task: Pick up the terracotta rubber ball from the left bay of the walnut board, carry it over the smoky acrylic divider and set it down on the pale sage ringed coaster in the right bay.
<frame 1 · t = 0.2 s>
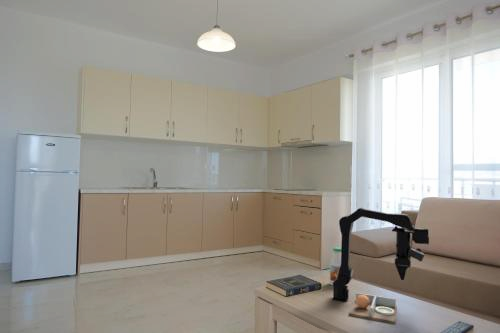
hand: (402, 277, 152), 14 cm above the table, fingers open, 9 cm apart
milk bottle: (336, 285, 186), on the table
board: (373, 312, 148), on the table
ball: (362, 301, 150), point 4 cm above the table, touching board
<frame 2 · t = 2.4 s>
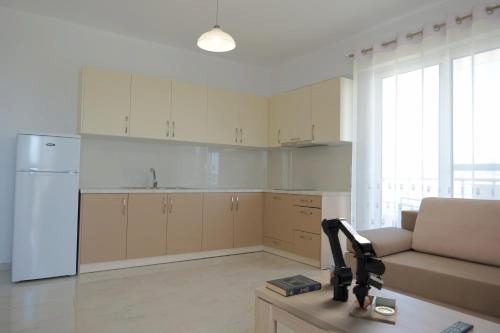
hand: (362, 305, 150), 2 cm above the table, fingers closed on ball, 5 cm apart
ball: (362, 301, 150), point 4 cm above the table, touching board, gripper
everything else where it was.
when the fingers open (4 cm above the table, at t = 7.1 s): ball drops 1 cm, resting on board.
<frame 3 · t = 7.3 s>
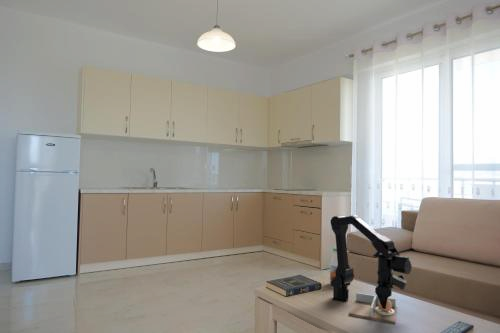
hand: (384, 305, 146), 4 cm above the table, fingers open, 8 cm apart
ball: (384, 304, 146), point 4 cm above the table, touching board
everything else where it was.
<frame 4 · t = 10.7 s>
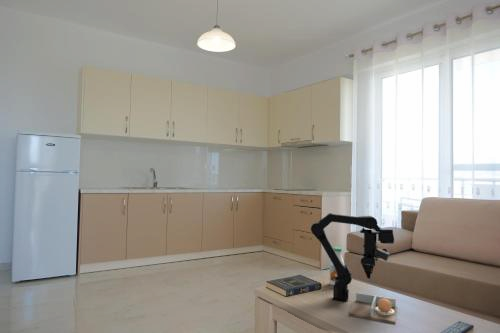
hand: (369, 275, 161), 12 cm above the table, fingers open, 9 cm apart
ball: (384, 305, 145), point 4 cm above the table, tilted 21°, touching board
everything else where it was.
at the end: ball 1.0 cm from the target spot on the board, point 4.0 cm above the board's base; the gripper is holding nothing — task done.
